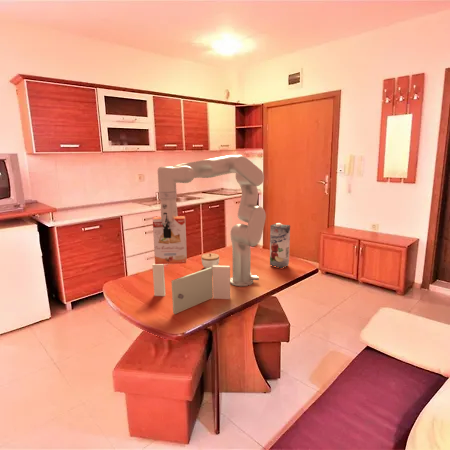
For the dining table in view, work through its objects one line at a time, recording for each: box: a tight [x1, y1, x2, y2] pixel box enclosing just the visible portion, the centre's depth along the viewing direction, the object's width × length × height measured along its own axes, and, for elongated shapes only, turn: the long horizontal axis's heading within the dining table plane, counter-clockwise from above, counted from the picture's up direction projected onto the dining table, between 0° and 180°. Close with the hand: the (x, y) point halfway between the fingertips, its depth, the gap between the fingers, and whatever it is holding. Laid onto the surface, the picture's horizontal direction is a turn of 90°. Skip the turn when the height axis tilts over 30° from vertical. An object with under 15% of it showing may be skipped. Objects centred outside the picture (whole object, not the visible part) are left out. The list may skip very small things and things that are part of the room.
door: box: [171, 267, 214, 315], centre depth 142 cm, size 22×3×15 cm, turn 134°
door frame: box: [152, 262, 231, 300], centre depth 152 cm, size 37×2×16 cm, turn 83°
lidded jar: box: [201, 252, 220, 271], centre depth 190 cm, size 11×11×9 cm
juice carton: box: [269, 222, 291, 269], centre depth 190 cm, size 9×10×27 cm
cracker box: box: [152, 215, 188, 265], centre depth 142 cm, size 14×6×21 cm, turn 95°
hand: (169, 235), depth 142 cm, fingers closed on cracker box, 6 cm apart
